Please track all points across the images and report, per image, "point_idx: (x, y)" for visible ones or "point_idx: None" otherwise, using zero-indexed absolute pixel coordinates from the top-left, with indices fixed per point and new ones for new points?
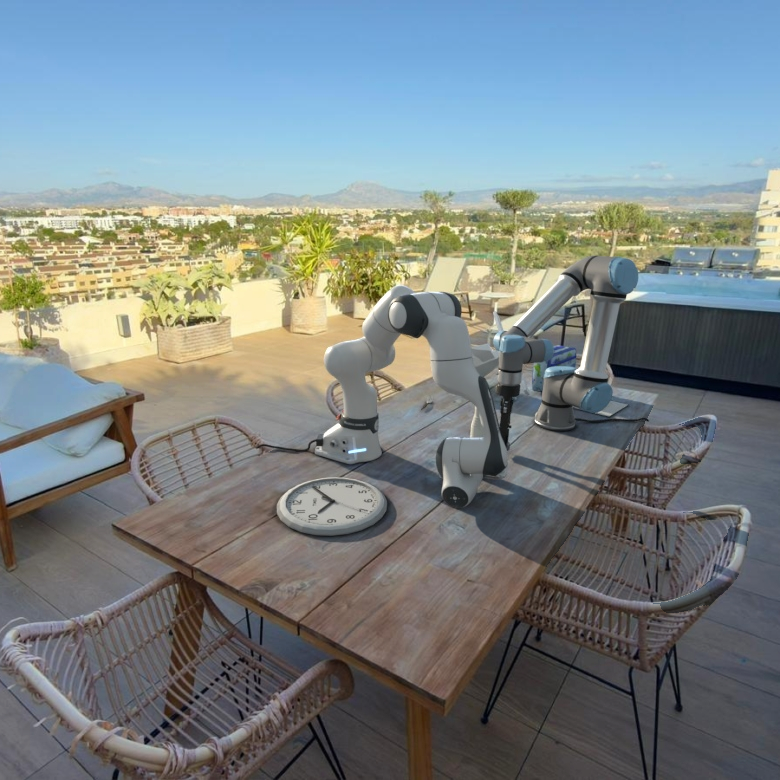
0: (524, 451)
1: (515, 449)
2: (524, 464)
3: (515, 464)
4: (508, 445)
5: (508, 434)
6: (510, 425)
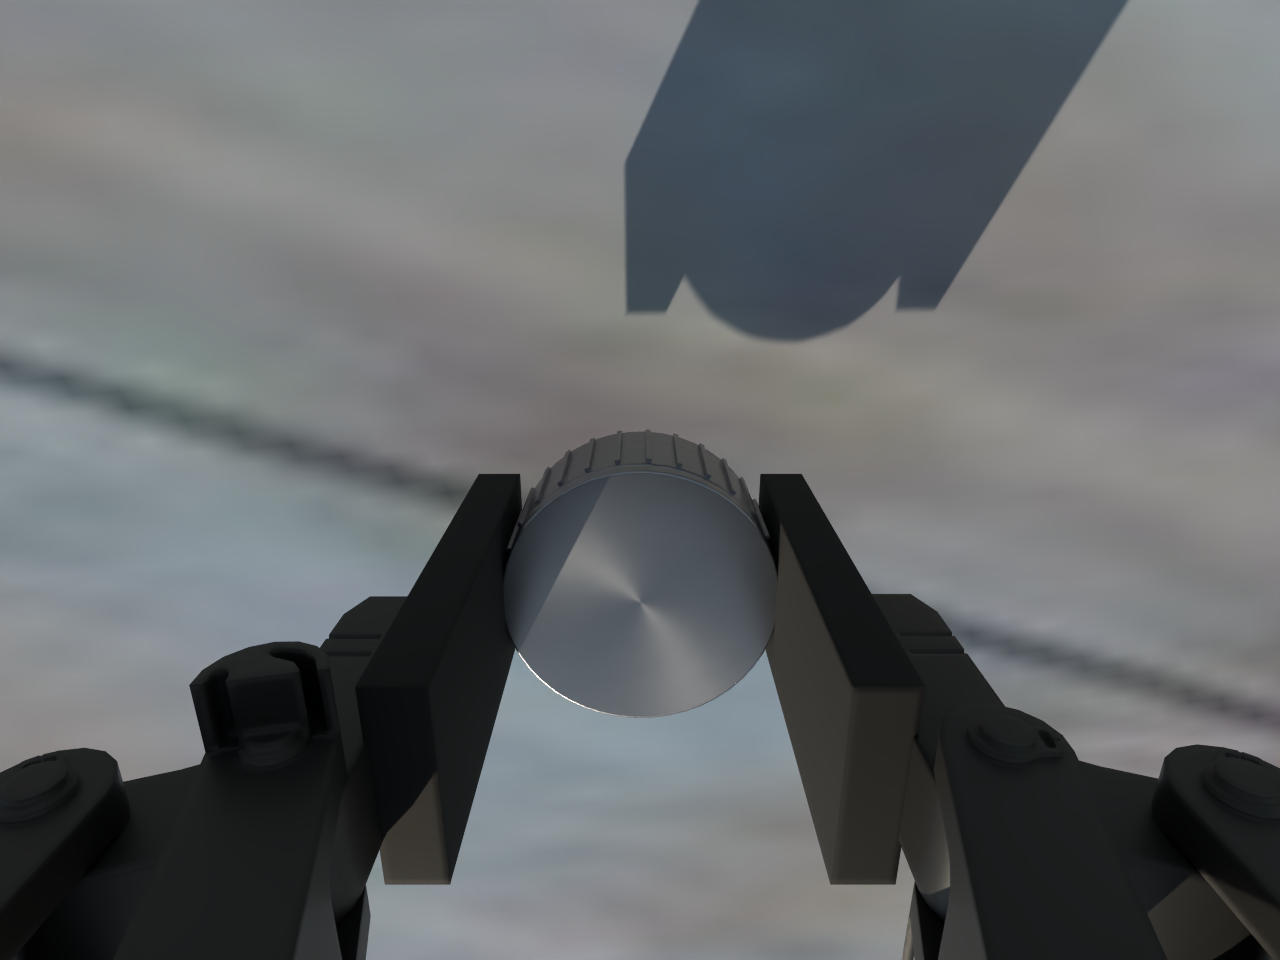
0: (383, 139)
1: (366, 314)
2: (987, 97)
3: (1016, 262)
4: (716, 488)
5: (463, 601)
6: (202, 717)
